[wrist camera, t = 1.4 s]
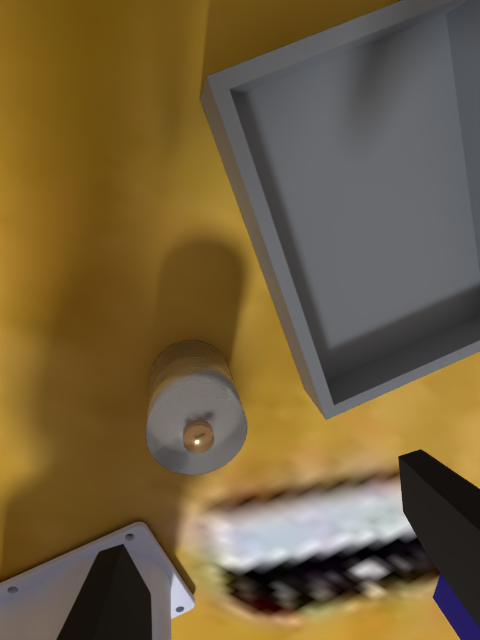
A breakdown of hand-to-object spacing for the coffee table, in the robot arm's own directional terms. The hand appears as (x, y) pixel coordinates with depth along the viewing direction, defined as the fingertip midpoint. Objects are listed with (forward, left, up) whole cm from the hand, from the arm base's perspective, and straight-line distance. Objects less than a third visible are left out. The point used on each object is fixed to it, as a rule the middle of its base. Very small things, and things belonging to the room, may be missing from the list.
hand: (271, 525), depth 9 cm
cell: (-2, 0, -11) cm, 11 cm away
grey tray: (+9, +4, -11) cm, 15 cm away
